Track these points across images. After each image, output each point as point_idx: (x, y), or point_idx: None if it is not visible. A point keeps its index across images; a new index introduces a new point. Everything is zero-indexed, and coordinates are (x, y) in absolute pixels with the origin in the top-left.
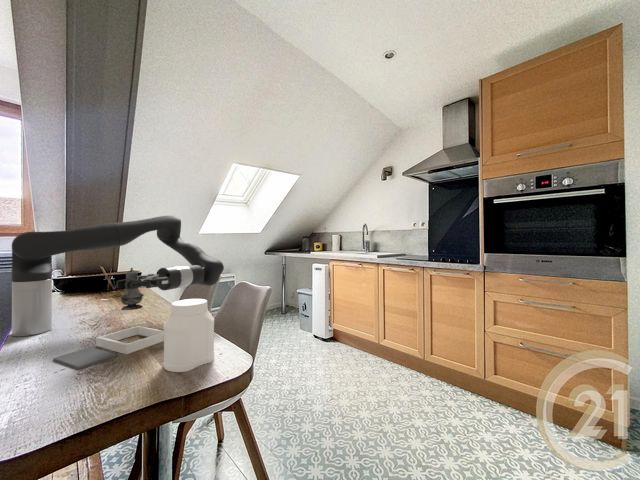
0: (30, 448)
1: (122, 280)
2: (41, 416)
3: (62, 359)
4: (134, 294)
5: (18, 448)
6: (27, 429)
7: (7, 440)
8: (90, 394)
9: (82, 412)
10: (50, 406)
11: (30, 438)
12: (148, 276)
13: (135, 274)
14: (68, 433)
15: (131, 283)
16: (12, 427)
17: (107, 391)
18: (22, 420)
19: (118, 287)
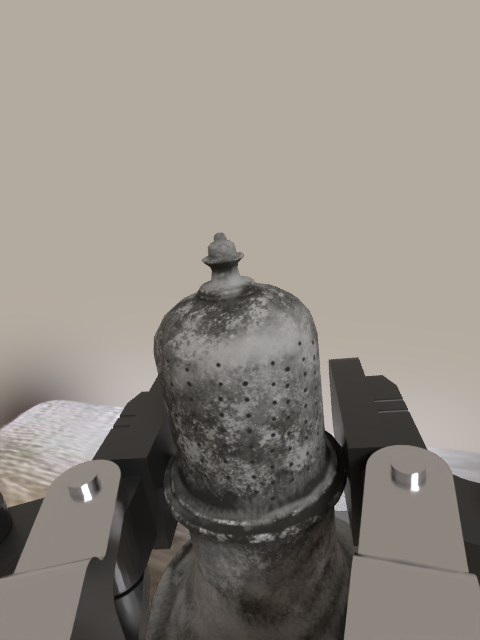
0: (34, 409)
1: (334, 381)
2: (87, 428)
3: (340, 516)
4: (194, 565)
5: (50, 405)
6: (77, 415)
7: (81, 403)
8: (53, 480)
9: (20, 454)
10: (100, 440)
11: (52, 413)
12: (69, 621)
13: (157, 358)
14: (3, 431)
15: (132, 404)
16: (105, 409)
17: (20, 499)
18: (108, 417)
19: (333, 423)
